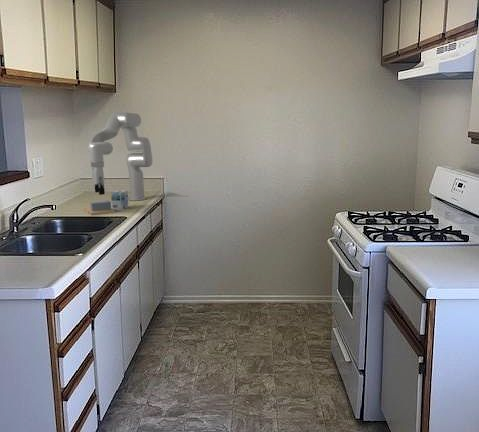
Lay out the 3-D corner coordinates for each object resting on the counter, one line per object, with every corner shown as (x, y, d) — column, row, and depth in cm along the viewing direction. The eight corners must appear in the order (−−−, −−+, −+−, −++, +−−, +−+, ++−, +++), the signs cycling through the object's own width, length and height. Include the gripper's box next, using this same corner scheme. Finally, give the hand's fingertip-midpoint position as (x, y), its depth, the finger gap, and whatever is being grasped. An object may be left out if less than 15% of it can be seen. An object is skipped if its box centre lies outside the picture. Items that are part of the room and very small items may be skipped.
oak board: (83, 209, 344) (82, 207, 344) (105, 207, 350) (105, 205, 350) (91, 215, 325) (90, 212, 324) (114, 212, 331) (114, 210, 331)
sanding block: (90, 210, 332) (90, 202, 331) (109, 208, 337) (108, 200, 336) (92, 211, 327) (91, 203, 326) (111, 210, 331) (110, 201, 330)
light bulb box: (122, 210, 340) (120, 192, 337) (111, 210, 341) (110, 192, 339) (128, 207, 350) (127, 190, 348) (118, 207, 351) (117, 190, 349)
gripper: (87, 163, 333) (90, 192, 336) (94, 166, 318) (97, 196, 321) (100, 162, 336) (102, 190, 340) (107, 165, 321) (109, 194, 325)
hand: (99, 193), depth 330 cm, fingers open, 9 cm apart
